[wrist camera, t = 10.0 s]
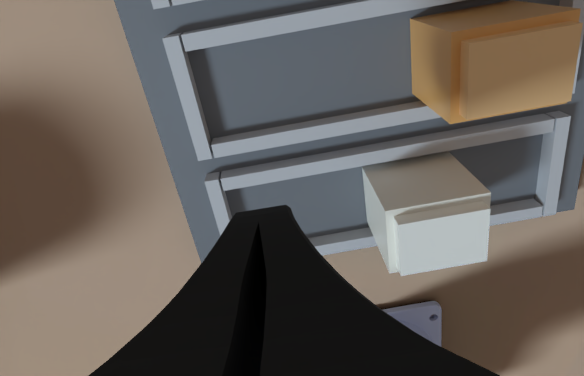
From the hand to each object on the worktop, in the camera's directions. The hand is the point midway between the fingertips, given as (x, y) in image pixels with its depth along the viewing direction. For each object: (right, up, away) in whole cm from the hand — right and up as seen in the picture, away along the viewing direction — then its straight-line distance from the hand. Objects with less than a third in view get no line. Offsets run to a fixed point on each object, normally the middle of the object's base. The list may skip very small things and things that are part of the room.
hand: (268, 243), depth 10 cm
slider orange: (+7, +7, +7) cm, 12 cm away
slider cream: (+6, +1, +10) cm, 11 cm away
